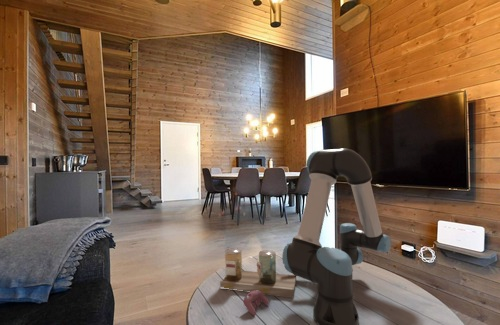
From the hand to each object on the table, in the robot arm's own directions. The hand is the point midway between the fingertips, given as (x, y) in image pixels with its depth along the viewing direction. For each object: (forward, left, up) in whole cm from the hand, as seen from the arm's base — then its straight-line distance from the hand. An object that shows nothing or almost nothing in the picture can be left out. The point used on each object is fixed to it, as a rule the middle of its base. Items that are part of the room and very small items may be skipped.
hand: (287, 263), depth 115 cm
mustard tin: (+6, +24, -7) cm, 26 cm away
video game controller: (-16, +18, -10) cm, 26 cm away
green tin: (0, +10, -7) cm, 12 cm away
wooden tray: (+2, +13, -9) cm, 16 cm away
